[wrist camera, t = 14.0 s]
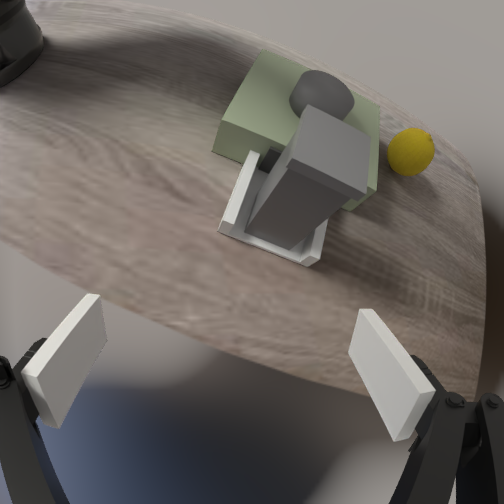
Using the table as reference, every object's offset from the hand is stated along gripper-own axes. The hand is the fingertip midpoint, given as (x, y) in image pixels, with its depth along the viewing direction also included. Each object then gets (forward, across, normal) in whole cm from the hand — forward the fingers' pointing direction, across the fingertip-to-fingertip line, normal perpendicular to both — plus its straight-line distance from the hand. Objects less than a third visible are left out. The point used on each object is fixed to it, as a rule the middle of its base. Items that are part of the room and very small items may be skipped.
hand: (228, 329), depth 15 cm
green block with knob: (+21, +6, +8) cm, 23 cm away
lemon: (+25, +20, +9) cm, 34 cm away
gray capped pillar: (+16, +4, +2) cm, 16 cm away
